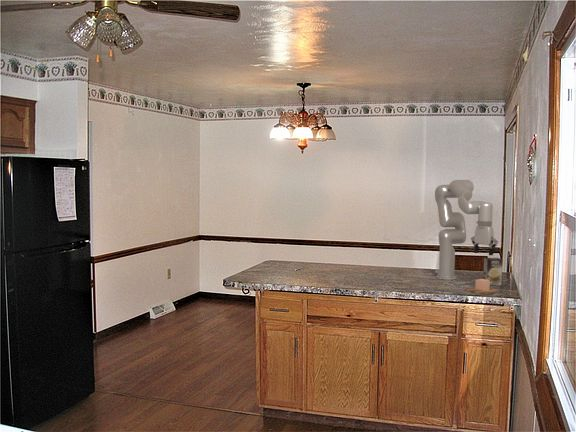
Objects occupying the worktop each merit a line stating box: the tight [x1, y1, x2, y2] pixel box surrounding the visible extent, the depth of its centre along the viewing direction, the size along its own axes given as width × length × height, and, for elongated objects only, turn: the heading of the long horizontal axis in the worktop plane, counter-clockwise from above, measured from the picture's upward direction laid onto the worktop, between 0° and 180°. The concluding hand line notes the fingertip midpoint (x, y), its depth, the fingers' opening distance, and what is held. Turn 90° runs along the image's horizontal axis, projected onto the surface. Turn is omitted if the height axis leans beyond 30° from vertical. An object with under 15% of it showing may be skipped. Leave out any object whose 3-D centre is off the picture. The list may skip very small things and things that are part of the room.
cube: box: [474, 278, 491, 291], centre depth 319 cm, size 6×6×6 cm
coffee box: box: [482, 257, 503, 286], centre depth 338 cm, size 9×6×16 cm
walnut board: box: [464, 286, 502, 296], centre depth 319 cm, size 14×14×1 cm
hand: (483, 253), depth 317 cm, fingers open, 9 cm apart
